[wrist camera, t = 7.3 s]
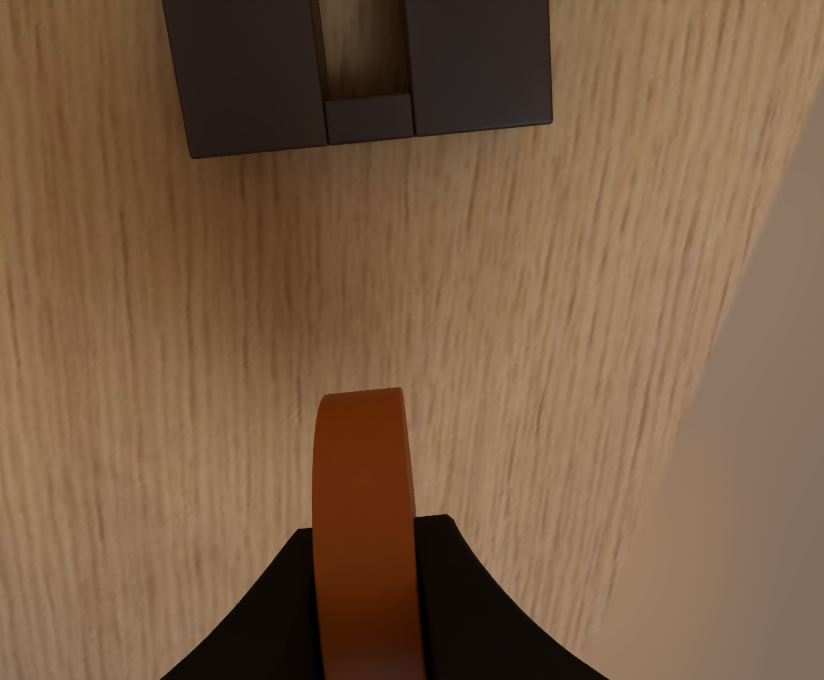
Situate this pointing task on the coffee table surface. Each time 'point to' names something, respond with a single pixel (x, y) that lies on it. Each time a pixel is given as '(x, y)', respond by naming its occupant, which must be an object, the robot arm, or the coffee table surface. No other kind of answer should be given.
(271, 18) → the holder
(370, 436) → the token
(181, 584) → the coffee table surface
